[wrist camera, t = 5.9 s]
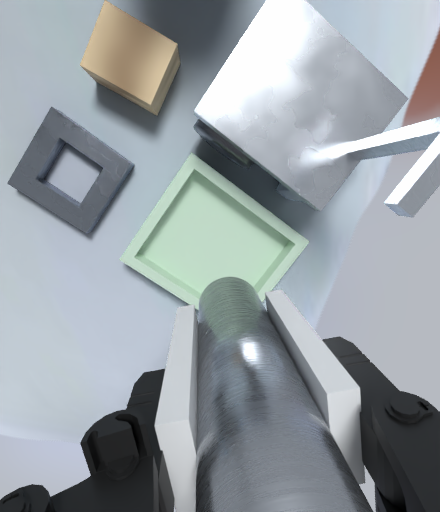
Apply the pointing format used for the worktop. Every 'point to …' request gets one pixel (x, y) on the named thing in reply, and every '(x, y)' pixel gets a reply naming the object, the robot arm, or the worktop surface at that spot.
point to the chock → (131, 58)
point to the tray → (211, 237)
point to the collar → (43, 156)
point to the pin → (260, 417)
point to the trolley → (312, 110)
